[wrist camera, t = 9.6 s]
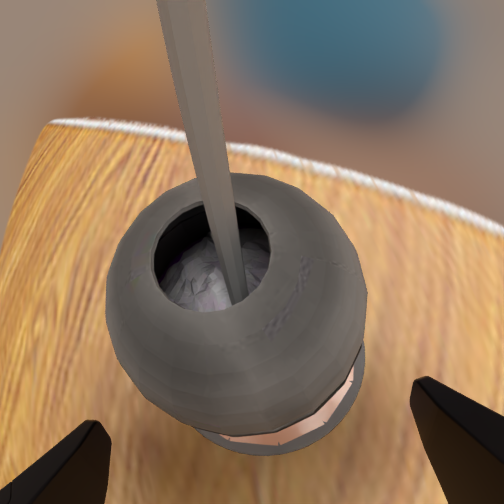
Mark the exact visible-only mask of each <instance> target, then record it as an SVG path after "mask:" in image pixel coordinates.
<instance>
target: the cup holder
mask: <svg viewBox="0 0 504 504" xmlns="http://www.w3.org/2000/svg"><path fill="white" fill-rule="evenodd" d="M364 366H365V347H364V341H363V342H362V348H361V350H360V352H359V355H358V357H357V359H356V361H355V363H354V365H353V368H352V370H351V372H350V374H349V376H348V378H347V380H346V382H345V384H344V385H343V386H342V387H341V388H340V390H339V391H338V392H337V393H336V394H335V395H334V396H333V397H332V398H331V399H330V400H329V401H328V402H327V403H326V404H325V405H324V406H323V407H322V408H321V409H320V410H319V411H318V412H317V413H316V414H314V415H312V416H310V417H308V418H306V419H304V420H302V421H300V422H298V423H296V424H294V425H292V426H290V427H288V428H286V429H283V430H281V431H279V432H277V433H271V434H263V435H254V436H243V437H230V436H226V435H221V434H217V433H213V432H209V431H205V430H201V429H197V428H195V429H196V430H197V431H198V432H199V433H201V434H202V435H203V436H204V437H206V438H207V439H209V440H210V441H212V442H214V443H215V444H217V445H219V446H222V447H224V448H226V449H229V450H232V451H235V452H238V453H243V454H249V455H258V456H270V455H280V454H285V453H289V452H293V451H296V450H299V449H301V448H304V447H306V446H309V445H311V444H312V443H314V442H316V441H318V440H319V439H321V438H322V437H324V436H325V435H326V434H328V433H329V432H330V431H332V430H333V429H334V428H335V427H336V426H337V425H338V424H339V423H340V422H341V420H342V419H343V418H344V416H345V415H346V414H347V413H348V411H349V410H350V408H351V406H352V404H353V403H354V401H355V399H356V397H357V394H358V392H359V389H360V387H361V383H362V379H363V375H364Z"/></svg>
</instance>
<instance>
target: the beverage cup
mask: <svg viewBox="0 0 504 504" xmlns="http://www.w3.org/2000/svg"><path fill="white" fill-rule="evenodd" d="M156 1H157V6H158V11H159V16H160V21H161V26H162V30H163V35H164V40H165V45H166V49H167V53H168V59H169V63H170V67H171V72H172V77H173V81H174V86H175V90H176V94H177V98H178V103H179V107H180V111H181V116H182V119H183V124H184V128H185V132H186V136H187V140H188V145H189V149H190V153H191V157H192V161H193V165H194V169H195V173H196V176H197V178H194V179H192V180H190V181H188V182H185V183H183V184H181V185H179V186H177V187H175V188H172V189H170V190H168V191H166V192H165V193H163V194H162V195H161V196H160V197H158V198H157V199H156V200H155V201H154V202H152V203H151V204H150V205H149V206H147V207H146V208H145V209H144V210H143V211H141V212H140V214H139V215H138V216H137V218H136V219H135V220H134V222H133V223H132V225H131V226H130V227H129V229H128V230H127V232H126V233H125V235H124V236H123V237H122V239H121V240H120V242H119V244H118V246H117V249H116V252H115V255H114V258H113V260H112V263H111V266H110V269H109V272H108V275H107V282H106V311H105V314H106V323H107V327H108V330H109V334H110V337H111V341H112V344H113V347H114V350H115V354H116V357H117V359H118V361H119V362H120V364H121V366H122V367H123V369H124V370H125V371H126V373H127V374H128V376H129V377H130V378H131V380H132V381H133V382H134V384H135V385H136V386H137V388H138V389H139V390H140V392H141V393H142V394H143V396H144V397H145V398H146V399H147V400H149V401H150V402H152V403H153V404H155V405H156V406H157V407H159V408H160V409H162V410H163V411H165V412H166V413H168V414H169V415H171V416H172V417H174V418H175V419H177V420H178V421H180V422H182V423H184V424H186V425H190V426H192V427H193V428H197V429H201V430H205V431H209V432H213V433H217V434H221V435H226V436H230V437H243V436H254V435H263V434H271V433H277V432H279V431H281V430H283V429H286V428H288V427H290V426H292V425H294V424H296V423H298V422H300V421H302V420H304V419H306V418H308V417H310V416H312V415H314V414H316V413H317V412H318V411H319V410H320V409H321V408H322V407H323V406H324V405H325V404H326V403H327V402H328V401H329V400H330V399H331V398H332V397H333V396H334V395H335V394H336V393H337V392H338V391H339V390H340V388H341V387H342V386H343V385H344V384H345V382H346V380H347V378H348V376H349V374H350V372H351V370H352V368H353V365H354V363H355V361H356V359H357V357H358V355H359V352H360V350H361V348H362V342H363V338H364V330H365V319H366V307H367V294H368V292H367V288H366V284H365V280H364V276H363V273H362V269H361V265H360V261H359V258H358V254H357V252H356V249H355V247H354V246H353V244H352V243H351V241H350V240H349V238H348V237H347V235H346V234H345V232H344V231H343V229H342V228H341V226H340V225H339V223H338V222H337V220H336V219H335V217H334V216H333V215H332V214H331V213H330V212H328V211H327V210H326V209H325V208H323V207H322V206H321V205H320V204H318V203H317V202H316V201H315V200H313V199H312V198H311V197H309V196H308V195H307V194H305V193H304V192H303V191H302V190H300V189H299V188H297V187H294V186H292V185H289V184H286V183H284V182H281V181H279V180H276V179H273V178H271V177H268V176H264V175H253V174H242V173H230V170H229V163H228V157H227V150H226V143H225V137H224V130H223V124H222V116H221V109H220V102H219V96H218V88H217V81H216V75H215V67H214V60H213V53H212V46H211V39H210V31H209V24H208V17H207V9H206V2H205V0H156Z"/></svg>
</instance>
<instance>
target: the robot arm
mask: <svg viewBox="0 0 504 504" xmlns="http://www.w3.org/2000/svg"><path fill="white" fill-rule="evenodd" d="M410 407H411V410H412V413H413V416H414V419H415V422H416V425H417V428H418V431H419V434H420V437H421V440H422V443H423V446H424V449H425V451H426V454H427V456H428V458H429V460H430V462H431V465H432V467H433V469H434V471H435V474H436V476H437V478H438V480H439V483H440V485H441V487H442V490H443V492H444V494H445V497H446V499H447V501H448V504H504V416H502V415H500V414H498V413H496V412H494V411H493V410H491V409H489V408H487V407H485V406H483V405H481V404H479V403H477V402H476V401H474V400H472V399H470V398H468V397H466V396H464V395H462V394H461V393H459V392H457V391H455V390H453V389H451V388H450V387H448V386H446V385H444V384H442V383H440V382H438V381H437V380H435V379H433V378H431V377H429V376H424V377H421V378H418V379H415V380H414V382H413V385H412V390H411V395H410ZM111 445H112V443H111V438H110V436H109V435H108V433H107V432H106V430H105V429H104V427H103V426H102V424H101V423H100V422H99V421H97V420H85V421H84V422H83V423H82V424H80V425H79V426H78V427H77V428H76V429H74V430H73V431H72V432H71V433H70V434H68V435H67V436H66V437H65V438H64V439H62V440H61V441H60V442H59V443H58V444H56V445H55V446H54V447H53V448H52V449H50V450H49V451H48V452H47V453H46V454H44V455H43V456H42V457H41V458H39V459H38V460H37V461H36V462H35V463H33V464H32V465H31V466H30V467H28V468H27V469H26V470H25V471H24V472H22V473H21V474H20V475H19V476H17V477H16V478H15V479H14V480H13V481H12V482H10V483H9V484H7V485H6V486H5V487H4V488H2V489H1V490H0V504H104V503H105V497H106V492H107V486H108V478H109V466H110V455H111Z"/></svg>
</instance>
